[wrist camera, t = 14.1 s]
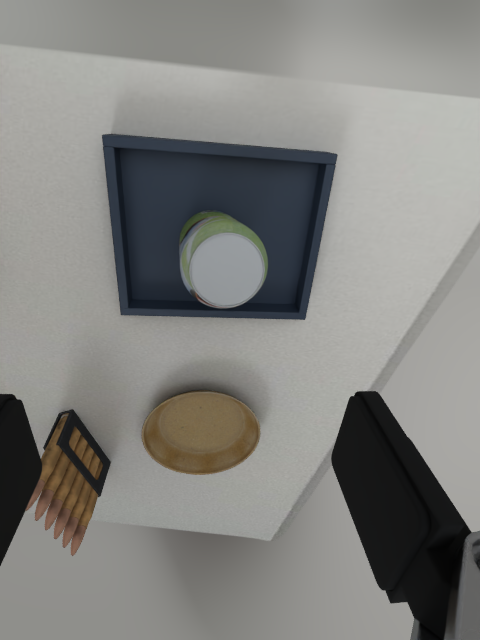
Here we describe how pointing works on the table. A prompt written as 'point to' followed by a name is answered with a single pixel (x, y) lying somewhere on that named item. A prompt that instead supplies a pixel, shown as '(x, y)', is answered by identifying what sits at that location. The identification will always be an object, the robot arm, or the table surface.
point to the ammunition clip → (70, 479)
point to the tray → (221, 195)
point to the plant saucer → (201, 432)
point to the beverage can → (221, 260)
